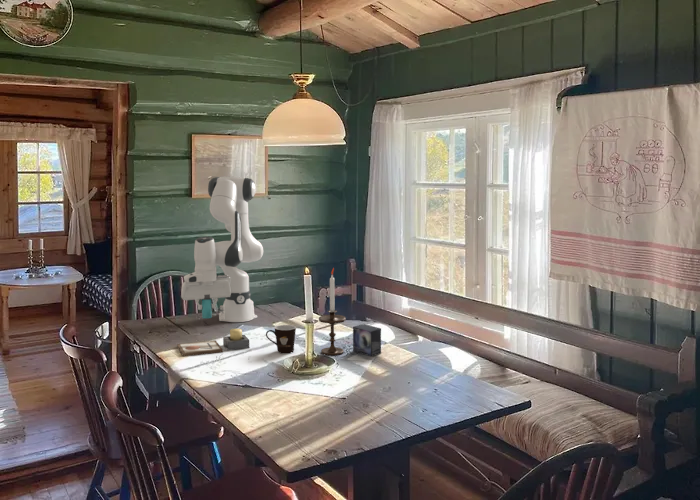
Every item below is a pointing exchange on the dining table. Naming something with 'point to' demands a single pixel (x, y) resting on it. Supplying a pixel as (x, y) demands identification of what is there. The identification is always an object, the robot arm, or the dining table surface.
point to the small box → (367, 339)
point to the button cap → (236, 334)
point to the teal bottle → (206, 307)
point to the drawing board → (199, 348)
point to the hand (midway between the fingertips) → (206, 309)
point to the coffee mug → (284, 338)
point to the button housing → (236, 343)
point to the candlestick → (332, 322)
